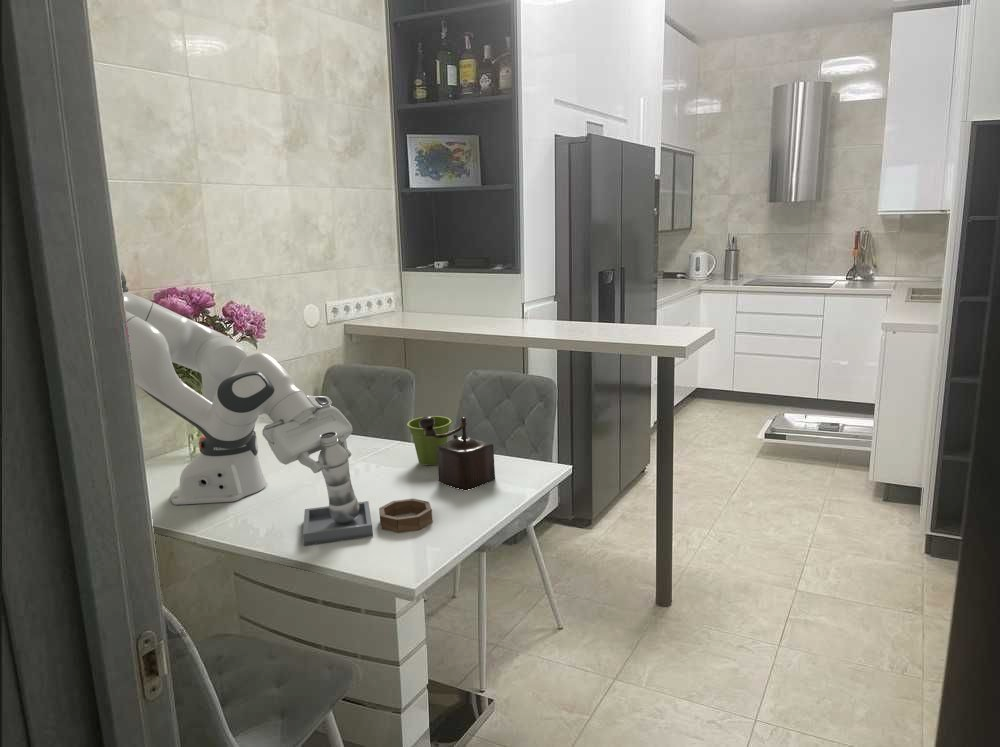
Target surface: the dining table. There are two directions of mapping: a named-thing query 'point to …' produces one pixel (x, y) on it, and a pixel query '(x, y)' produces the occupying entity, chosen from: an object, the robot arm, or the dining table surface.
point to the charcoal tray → (335, 526)
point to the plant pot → (428, 439)
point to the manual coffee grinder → (462, 457)
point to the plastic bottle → (337, 479)
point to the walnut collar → (405, 522)
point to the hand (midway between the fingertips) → (334, 464)
